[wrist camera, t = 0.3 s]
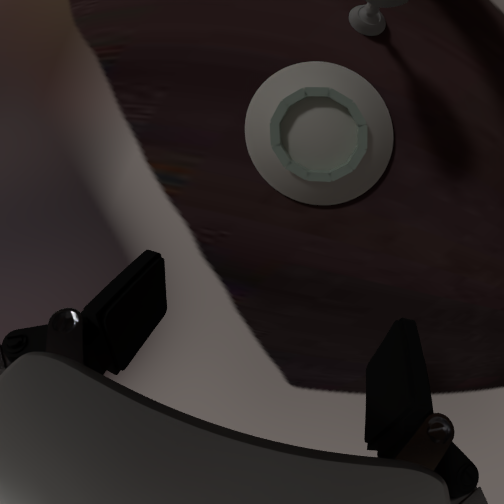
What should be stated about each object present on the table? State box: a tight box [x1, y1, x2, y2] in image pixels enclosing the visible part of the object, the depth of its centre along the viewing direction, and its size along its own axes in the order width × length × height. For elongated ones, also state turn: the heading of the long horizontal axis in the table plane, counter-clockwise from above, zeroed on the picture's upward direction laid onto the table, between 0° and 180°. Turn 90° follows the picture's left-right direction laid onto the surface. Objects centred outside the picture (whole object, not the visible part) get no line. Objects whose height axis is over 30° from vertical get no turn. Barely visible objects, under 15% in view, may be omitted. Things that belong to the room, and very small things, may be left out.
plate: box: [245, 61, 393, 205], centre depth 33 cm, size 20×20×2 cm
